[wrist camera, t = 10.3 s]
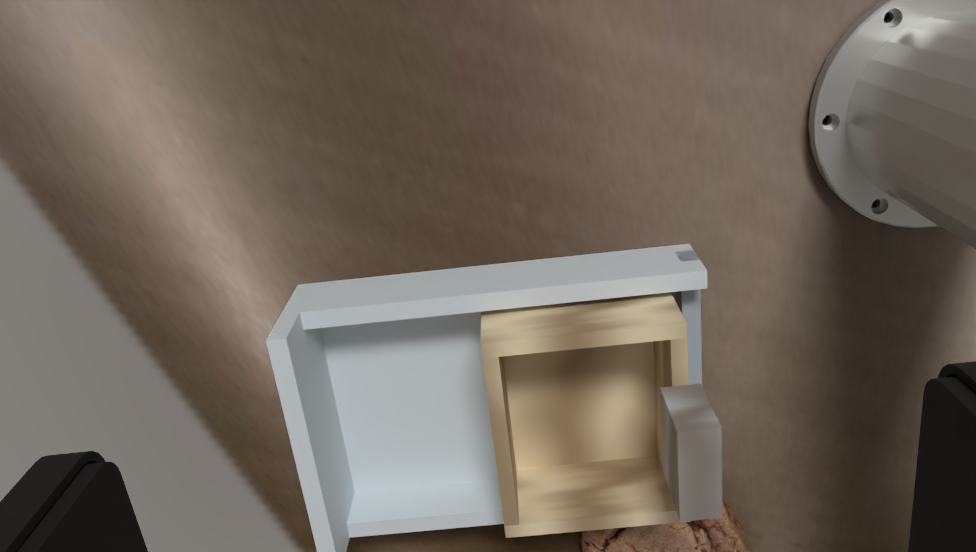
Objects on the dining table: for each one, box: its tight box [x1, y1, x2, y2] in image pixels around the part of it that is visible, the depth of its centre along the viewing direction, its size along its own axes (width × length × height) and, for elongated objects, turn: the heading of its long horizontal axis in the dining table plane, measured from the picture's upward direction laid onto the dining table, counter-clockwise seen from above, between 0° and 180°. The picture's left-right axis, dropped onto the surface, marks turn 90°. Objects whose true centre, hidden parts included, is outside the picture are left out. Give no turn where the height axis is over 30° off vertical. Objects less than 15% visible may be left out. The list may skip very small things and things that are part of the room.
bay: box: [266, 244, 707, 552], centre depth 45 cm, size 22×15×7 cm, turn 97°
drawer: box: [480, 292, 722, 538], centre depth 42 cm, size 11×12×10 cm
